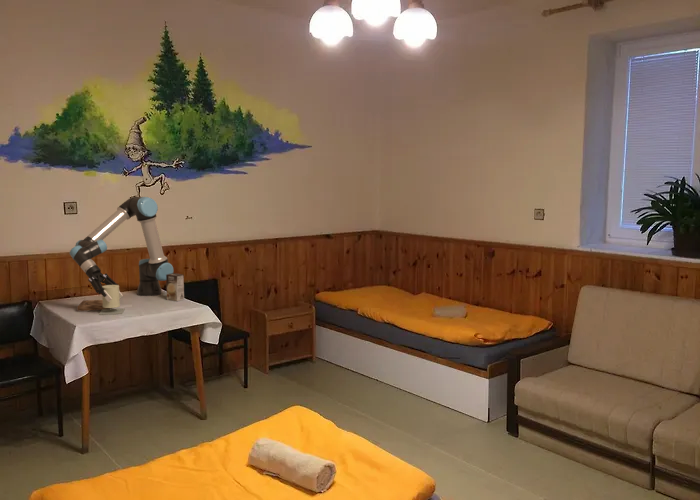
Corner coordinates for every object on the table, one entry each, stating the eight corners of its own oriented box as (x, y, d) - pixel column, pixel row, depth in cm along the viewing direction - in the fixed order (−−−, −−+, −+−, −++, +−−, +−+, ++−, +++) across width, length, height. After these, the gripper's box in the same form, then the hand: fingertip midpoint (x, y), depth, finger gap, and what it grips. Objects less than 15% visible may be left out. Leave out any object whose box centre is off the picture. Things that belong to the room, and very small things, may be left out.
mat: (124, 309, 355) (124, 308, 355) (121, 314, 344) (121, 313, 343) (102, 310, 352) (102, 309, 352) (99, 315, 341) (98, 314, 341)
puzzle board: (113, 303, 371) (113, 299, 371) (109, 309, 355) (109, 305, 354) (83, 304, 367) (83, 300, 367) (77, 310, 351) (77, 306, 350)
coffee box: (166, 299, 382) (165, 274, 380) (173, 298, 388) (172, 272, 386) (177, 301, 378) (176, 275, 376) (184, 299, 384) (184, 274, 382)
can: (114, 308, 342) (113, 287, 340) (99, 307, 344) (98, 286, 342) (123, 305, 351) (122, 284, 349) (108, 304, 353) (107, 283, 351)
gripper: (100, 270, 360) (124, 299, 357) (73, 276, 339) (99, 306, 337) (107, 262, 358) (131, 290, 355) (81, 267, 337) (107, 298, 334)
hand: (115, 298), depth 346 cm, fingers closed on can, 9 cm apart
